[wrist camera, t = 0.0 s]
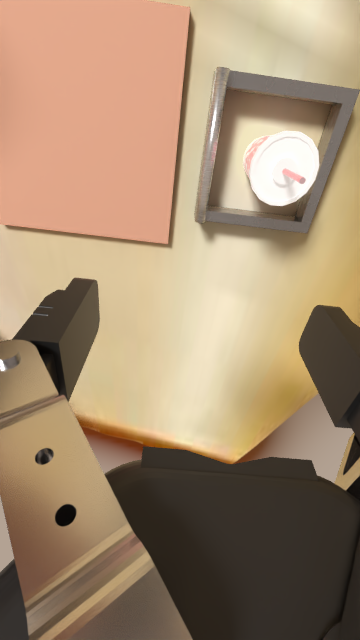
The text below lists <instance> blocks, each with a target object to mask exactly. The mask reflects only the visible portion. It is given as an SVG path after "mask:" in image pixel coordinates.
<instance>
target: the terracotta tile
mask: <svg viewBox="0 0 360 640" xmlns="http://www.w3.org/2000/svg"><path fill="white" fill-rule="evenodd" d="M189 16H190V7H185V6H179V5H172V4H166V3H160V2H153V1H147V0H0V224H3V225H12V226H20V227H29V228H37V229H46V230H54V231H62V232H71V233H79V234H88V235H96V236H105V237H113V238H122V239H130V240H139V241H147V242H155V243H164V244H168V239H169V228H170V217H171V207H172V196H173V186H174V175H175V164H176V154H177V143H178V133H179V122H180V111H181V101H182V90H183V80H184V69H185V58H186V48H187V37H188V26H189Z"/></svg>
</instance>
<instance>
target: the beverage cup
mask: <svg viewBox="0 0 360 640" xmlns="http://www.w3.org/2000/svg"><path fill="white" fill-rule="evenodd" d="M243 166H244V171H245V172H246V174H247V176H248V177H249V179H250V184H251V188H252V190H253V191H254V192H255V194H256V195H257V197H258V198H259V199H260V200H261V201H263V202H265V203H267V204H269V205H274V206H284V205H287V204H290V203H293V202H295V201H297V200H298V199H299V198H300V197H302V196H303V195H304V194H306V193H307V191H308V190H309V188H310V187H311V186H312V184H313V183H314V181H315V179H316V175H317V172H318V169H319V153H318V149H317V148H316V146H315V144H314V142H313V140H312V139H311V138H309V137H308V136H306V135H305V134H303V133H302V132H297V131H282V132H280V133H277V134H275V135H270V136H262V137H260V138H257V139H255V140H254V141H253V142H252V143H251V144H250V145H249V146H248V148H247V149H246V151H245V153H244V158H243Z"/></svg>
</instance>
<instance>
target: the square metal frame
mask: <svg viewBox="0 0 360 640" xmlns="http://www.w3.org/2000/svg"><path fill="white" fill-rule="evenodd" d="M226 89H229V90H236V91H243V92H250V93H257V94H264V95H270V96H277V97H284V98H291V99H298V100H305V101H311V102H318V103H325V104H332V107H331V110H330V113H329V116H328V119H327V122H326V125H325V128H324V131H323V134H322V137H321V140H320V143H319V146H318V153H319V169H318V172H317V175H316V179H315V181H314V183H313V184H312V186H311V187H310V188H309V190H308V191H307V193H306V194H304V195H303V196H302V197H301V199H300V202H299V205H298V208H297V211H296V214H295V217H294V216H286V215H278V214H270V213H262V212H254V211H246V210H238V209H230V208H223V207H215V206H208V200H209V194H210V188H211V181H212V175H213V169H214V163H215V157H216V151H217V144H218V138H219V132H220V126H221V120H222V114H223V107H224V101H225V95H226ZM359 91H360V90H358V89H351V88H344V87H338V86H331V85H324V84H318V83H311V82H304V81H298V80H291V79H284V78H278V77H271V76H264V75H258V74H251V73H244V72H238V71H231V70H230V69H229V68H224V67H217V68H216V70H215V71H214V77H213V84H212V91H211V98H210V105H209V113H208V120H207V127H206V134H205V141H204V149H203V156H202V163H201V170H200V177H199V184H198V192H197V199H196V206H195V213H194V215H195V222H198V223H205V221H211V222H219V223H228V224H236V225H244V226H252V227H260V228H268V229H276V230H284V231H293V232H301V233H307V232H308V230H309V227H310V224H311V221H312V219H313V216H314V213H315V211H316V208H317V205H318V203H319V200H320V197H321V194H322V192H323V189H324V186H325V184H326V181H327V178H328V175H329V173H330V170H331V167H332V165H333V162H334V159H335V156H336V154H337V151H338V148H339V146H340V143H341V140H342V138H343V135H344V132H345V129H346V127H347V124H348V121H349V119H350V116H351V113H352V110H353V108H354V105H355V102H356V100H357V97H358V94H359Z"/></svg>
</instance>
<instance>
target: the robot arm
mask: <svg viewBox="0 0 360 640" xmlns="http://www.w3.org/2000/svg"><path fill="white" fill-rule="evenodd" d="M99 319H100V316H99V297H98V284H97V281H96V280H91V279H82V278H74V279H73V280H72V281H71V283H70V284H69V285H68V287H67V288H66V290H57V291H55V292H53V293H51V294H50V295H48V296H46V297H45V298H44V300H43V301H42V302H41V303H40V305H39V307H37V309H36V310H35V311H34V312H33V315H31V316H30V317H29V319H28V320H27V321H26V322H25V324H24V325H23V326H22V328H21V329H20V330H19V331H18V333H17V334H16V335H15V336H14V338H13V339H12V340H6V341H2V342H0V497H1V501H2V506H3V510H4V514H5V519H6V524H7V528H8V533H9V537H10V542H11V546H12V550H13V555H14V559H13V560H12V561H11V562H10V563H9V564H8V565H7V566H6V567H5V568H4V569H3V570H2V571H1V572H0V640H360V327H358V326H357V325H356V324H354V323H353V322H352V321H351V320H350V319H349V317H348V316H347V315H346V314H345V312H344V311H343V310H342V309H341V308H340V307H333V306H324V305H317V306H316V307H315V308H314V309H313V311H312V313H311V315H310V318H309V320H308V322H307V324H306V327H305V329H304V331H303V333H302V335H301V338H300V341H299V352H300V355H301V357H302V359H303V361H304V363H305V365H306V367H307V369H308V371H309V373H310V376H311V378H312V380H313V382H314V384H315V386H316V388H317V390H318V392H319V394H320V396H321V398H322V401H323V403H324V405H325V407H326V409H327V411H328V413H329V415H330V417H331V419H332V421H333V423H334V425H335V427H342V428H352V430H353V431H354V433H353V434H352V436H351V437H350V439H349V441H348V444H347V447H346V450H345V453H344V457H343V459H342V462H341V465H340V468H339V471H338V475H337V478H336V481H335V483H332V482H331V481H329V480H326V479H324V478H322V477H320V476H317V475H316V472H315V469H314V466H313V463H312V461H311V460H301V459H289V458H277V457H269V458H264V459H258V460H253V461H248V462H243V463H238V464H226V463H223V462H220V461H217V460H214V459H211V458H208V457H205V456H202V455H199V454H196V453H193V452H190V451H187V450H180V449H168V448H155V447H143V453H142V460H137V461H133V462H129V463H126V464H123V465H121V466H118V467H116V468H114V469H112V470H110V471H109V472H107V473H105V474H104V473H103V471H102V469H101V467H100V465H99V463H98V461H97V459H96V457H95V455H94V453H93V451H92V449H91V447H90V445H89V443H88V441H87V439H86V437H85V435H84V433H83V431H82V429H81V427H80V425H79V423H78V421H77V419H76V417H75V415H74V413H73V411H72V409H71V407H70V405H69V403H68V402H69V399H70V397H71V394H72V392H73V390H74V387H75V385H76V382H77V380H78V378H79V375H80V373H81V370H82V368H83V366H84V363H85V361H86V358H87V356H88V354H89V351H90V349H91V346H92V344H93V342H94V339H95V337H96V334H97V332H98V328H99Z"/></svg>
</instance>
